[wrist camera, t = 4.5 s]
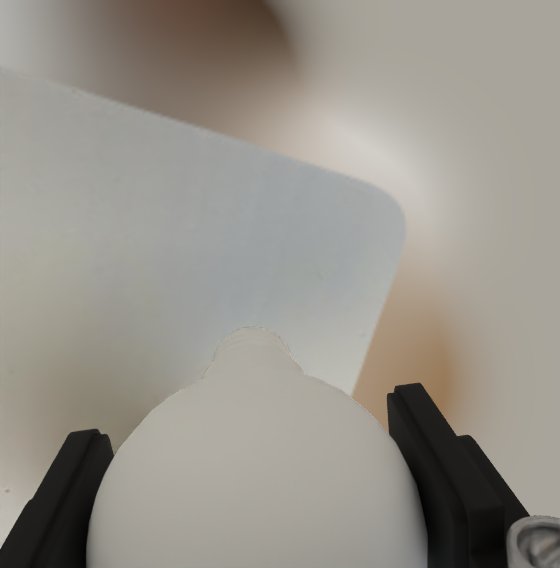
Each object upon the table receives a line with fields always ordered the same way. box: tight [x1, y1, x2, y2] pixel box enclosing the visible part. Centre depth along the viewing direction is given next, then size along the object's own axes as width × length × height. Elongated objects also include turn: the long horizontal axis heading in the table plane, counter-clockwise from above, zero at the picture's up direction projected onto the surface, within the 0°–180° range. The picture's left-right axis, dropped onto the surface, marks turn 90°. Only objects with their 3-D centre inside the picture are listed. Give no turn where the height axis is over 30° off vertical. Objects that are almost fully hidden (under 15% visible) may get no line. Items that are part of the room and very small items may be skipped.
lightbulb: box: [86, 327, 428, 568], centre depth 12 cm, size 6×6×11 cm
